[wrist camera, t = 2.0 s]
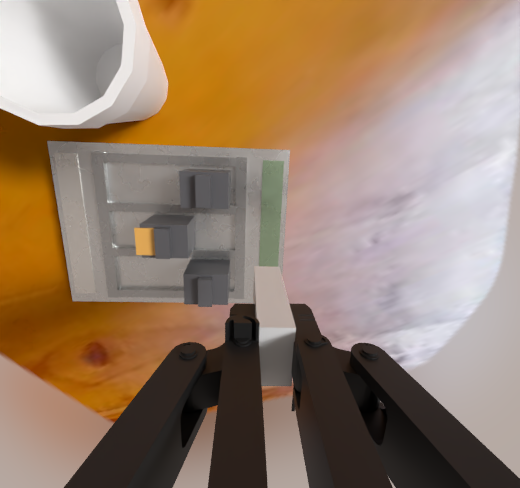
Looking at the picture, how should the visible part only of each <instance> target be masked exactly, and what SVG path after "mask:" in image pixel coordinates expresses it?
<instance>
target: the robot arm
mask: <svg viewBox="0 0 520 488" xmlns="http://www.w3.org/2000/svg"><path fill="white" fill-rule="evenodd" d="M292 378H293V383H294V388H293V400H292V411H294V410H296V416H297V421H298V427H299V432H300V438H301V443H302V449H303V454H304V460H305V465H306V471H307V476H308V482H309V488H392V485H391V483H390V480H391V481H392V483H393V484H394V486H395V487H396V488H520V478H518V477H517V476H516V475H515V474H514V473H513V472H512V471H511V470H510V469H509V468H508V467H507V466H506V465H505V464H504V463H503V462H502V461H500V460H499V459H498V458H497V457H496V456H495V455H494V454H493V453H492V452H491V451H490V450H489V449H487V448H486V446H485V445H483V444H482V443H481V442H480V441H479V440H478V439H477V438H476V437H475V436H474V435H473V434H472V433H471V432H470V431H468V430H467V429H466V428H465V427H464V426H463V425H462V424H461V423H460V422H459V421H458V420H457V419H456V418H455V417H454V416H453V415H452V414H450V413H449V412H448V411H447V410H446V409H445V408H444V407H443V406H442V405H441V404H440V403H439V402H438V401H437V400H436V399H435V398H434V397H432V396H431V395H430V394H429V393H428V392H427V391H426V390H425V389H424V388H423V387H422V386H421V385H420V384H419V383H418V382H416V380H414V379H413V378H412V377H411V376H410V375H409V374H408V373H407V372H406V371H405V370H404V369H403V368H402V367H401V366H400V365H399V364H397V363H396V362H395V361H394V360H393V359H392V358H391V357H390V356H389V355H388V354H387V353H386V352H385V351H384V350H382V349H381V348H379V347H377V346H375V345H373V344H368V343H358V344H355V345H354V346H353V347H352V348H351V352H350V351H345V350H341V349H337V348H334V347H332V345H331V343H330V341H329V340H328V339H327V338H326V337H325V336H323V335H321V333H320V330H319V328H318V325H317V323H316V321H315V318H314V316H313V313H312V310H311V309H310V308H309V307H308V306H307V305H306V304H289V300H288V297H287V293H286V289H285V286H284V282H283V278H282V275H281V271H280V267H268V266H254V288H253V304H234V306H233V307H232V308H231V309H230V318H228V319H227V321H226V323H225V343H224V344H223V345H221V346H220V347H218V348H215V349H211V350H207V351H206V349H205V347H204V346H203V345H201V344H199V343H196V342H188V343H183V344H180V345H178V346H176V347H175V348H174V349H173V350H171V352H170V353H169V354H168V356H167V357H166V358H165V359H164V361H163V362H162V363H161V365H160V366H159V367H158V368H157V370H156V371H155V372H154V373H153V375H152V376H151V377H150V379H149V380H148V381H147V382H146V384H145V385H144V386H143V387H142V389H141V390H140V391H139V393H138V394H137V395H136V396H135V398H134V399H133V400H132V401H131V403H130V404H129V405H128V407H127V408H126V409H125V410H124V412H123V413H122V414H121V415H120V417H119V418H118V419H117V421H116V422H115V423H114V424H113V426H112V427H111V428H110V429H109V431H108V432H107V433H106V435H105V436H104V437H103V438H102V440H101V441H100V442H99V443H98V445H97V446H96V447H95V449H94V450H93V451H92V453H91V454H90V455H89V456H88V458H87V459H86V460H85V461H84V463H83V464H82V465H81V466H80V468H79V469H78V470H77V472H76V473H75V474H74V475H73V477H72V478H71V479H70V480H69V482H68V483H67V484H66V486H65V487H64V488H172V487H173V485H174V483H175V481H176V479H177V476H178V474H179V472H180V470H181V468H182V465H183V463H184V461H185V459H186V457H187V454H188V452H189V450H190V448H191V445H192V443H193V441H194V439H195V437H196V435H197V432H198V430H199V428H200V426H201V424H202V422H203V419H204V417H205V415H206V413H207V408H209V407H212V406H216V405H218V407H217V416H216V424H215V433H214V441H213V450H212V458H211V466H210V475H209V483H208V488H267V471H266V454H265V439H264V438H265V437H264V420H263V405H262V404H263V403H262V387H261V386H291V384H292ZM380 401H381V402H382V403H383V404H382V403H381V402H380ZM387 475H388V476H387ZM388 477H389V478H390V480H389V478H388Z"/></svg>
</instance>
